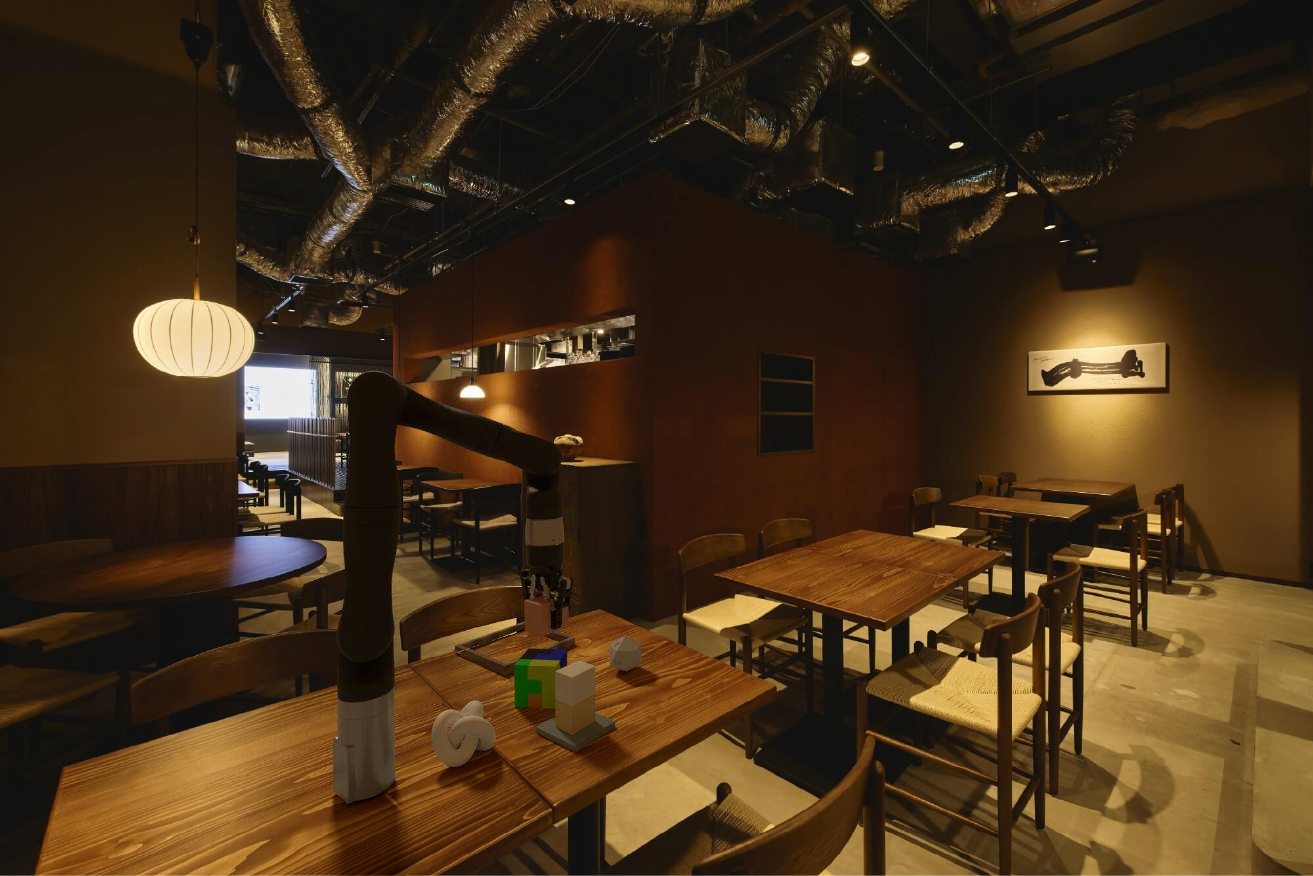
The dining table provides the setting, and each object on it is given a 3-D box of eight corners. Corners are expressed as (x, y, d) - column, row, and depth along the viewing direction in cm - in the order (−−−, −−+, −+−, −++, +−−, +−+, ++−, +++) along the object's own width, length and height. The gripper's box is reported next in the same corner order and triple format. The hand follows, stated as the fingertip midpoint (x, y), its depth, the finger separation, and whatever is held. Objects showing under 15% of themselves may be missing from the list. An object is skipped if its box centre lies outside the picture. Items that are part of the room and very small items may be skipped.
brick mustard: (571, 735, 112) (571, 706, 112) (555, 727, 115) (555, 699, 115) (595, 720, 118) (595, 693, 118) (579, 713, 121) (579, 687, 121)
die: (604, 669, 147) (604, 632, 147) (635, 663, 151) (634, 627, 151) (615, 682, 139) (615, 643, 139) (647, 675, 143) (647, 638, 143)
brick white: (571, 706, 112) (571, 677, 112) (555, 699, 115) (555, 671, 115) (595, 693, 118) (595, 666, 118) (579, 687, 121) (579, 660, 121)
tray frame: (504, 677, 142) (504, 666, 142) (454, 655, 156) (454, 645, 156) (575, 647, 162) (575, 637, 162) (525, 630, 176) (525, 621, 176)
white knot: (432, 743, 112) (432, 700, 112) (493, 732, 116) (492, 690, 116) (431, 775, 101) (430, 728, 101) (497, 761, 105) (497, 716, 105)
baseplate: (575, 752, 108) (575, 746, 108) (535, 732, 115) (535, 726, 115) (615, 726, 118) (615, 721, 118) (576, 709, 125) (576, 704, 125)
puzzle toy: (567, 689, 135) (567, 649, 135) (556, 709, 125) (555, 666, 125) (528, 687, 136) (528, 648, 136) (514, 707, 126) (514, 665, 126)
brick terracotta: (541, 636, 103) (540, 605, 103) (524, 631, 106) (524, 600, 106) (568, 626, 108) (568, 596, 108) (552, 621, 111) (551, 592, 111)
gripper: (507, 539, 108) (509, 623, 109) (554, 547, 100) (556, 639, 100) (536, 533, 114) (538, 613, 114) (583, 540, 105) (585, 627, 106)
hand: (546, 625), depth 107 cm, fingers closed on brick terracotta, 5 cm apart
